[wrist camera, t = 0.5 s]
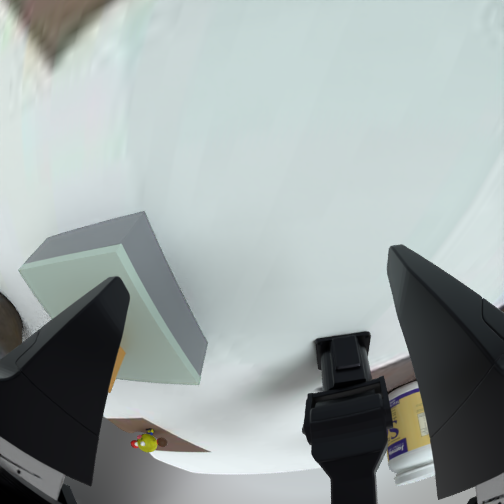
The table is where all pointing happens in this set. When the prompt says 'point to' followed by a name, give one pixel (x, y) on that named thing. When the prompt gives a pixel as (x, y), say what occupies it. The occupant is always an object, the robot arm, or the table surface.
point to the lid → (137, 321)
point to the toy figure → (148, 442)
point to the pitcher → (9, 327)
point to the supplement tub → (409, 437)
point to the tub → (138, 273)
